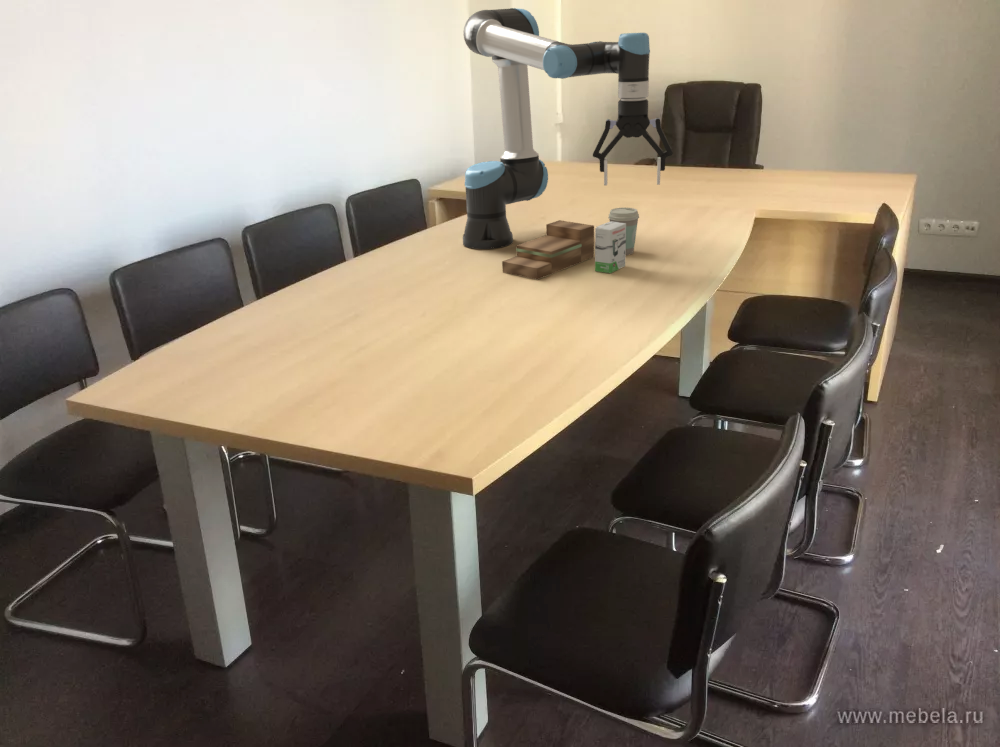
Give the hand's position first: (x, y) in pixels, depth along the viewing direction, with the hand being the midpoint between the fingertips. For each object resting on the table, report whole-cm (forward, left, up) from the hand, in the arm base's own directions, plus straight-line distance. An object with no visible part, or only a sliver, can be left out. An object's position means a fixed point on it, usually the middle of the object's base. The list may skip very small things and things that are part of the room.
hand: (631, 184), depth 220 cm
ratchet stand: (-18, -13, -21) cm, 31 cm away
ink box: (-2, -7, -22) cm, 23 cm away
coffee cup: (-8, +8, -22) cm, 24 cm away
